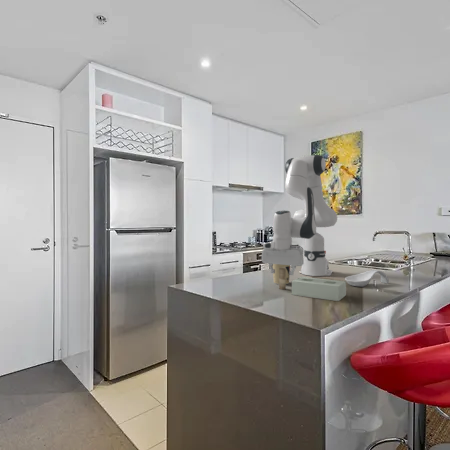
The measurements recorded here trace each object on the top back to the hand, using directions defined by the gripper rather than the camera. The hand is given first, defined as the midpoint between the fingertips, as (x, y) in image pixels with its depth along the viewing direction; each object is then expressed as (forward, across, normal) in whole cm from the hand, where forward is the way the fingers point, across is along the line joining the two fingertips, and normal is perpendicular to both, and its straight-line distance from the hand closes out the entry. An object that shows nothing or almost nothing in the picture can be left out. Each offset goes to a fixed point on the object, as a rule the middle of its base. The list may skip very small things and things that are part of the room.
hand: (282, 274), depth 148 cm
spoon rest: (+7, -31, -33) cm, 46 cm away
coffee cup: (+7, +6, -13) cm, 16 cm away
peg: (+7, 0, -1) cm, 7 cm away
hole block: (+7, -18, +1) cm, 19 cm away
